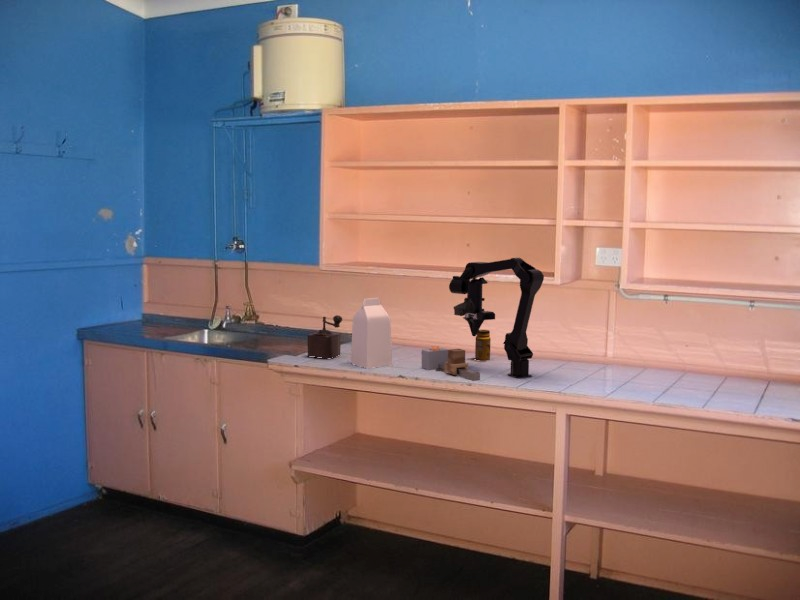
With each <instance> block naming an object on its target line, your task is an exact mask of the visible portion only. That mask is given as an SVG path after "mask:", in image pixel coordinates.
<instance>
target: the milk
mask: <svg viewBox="0 0 800 600" xmlns="http://www.w3.org/2000/svg"><path fill="white" fill-rule="evenodd" d="M351 328H352V329H351V330H352V331H351V349H350V351H351V353H350V364H351V363H352V364H355V365H358V366H357V367H359V366H361V367H360V368H363V367H365V368H364V369H366V368H369V369H373V368H372V367H377V368H379V367H378V366H385V367H387V366H386V365H392V366H393V365H394V363H393V349H392V348H393V347H392V344H393V343H392V327H391V318H390V315H389V314H388V313H387V311H386V309H385V308H384V307H383V305H382V303H381V300H380V298H379V297H369V298H364V299H363V302H362V305H361V306H360V307H359V309H357V311H356V312H355V313H354V315H353V317H352V327H351ZM352 364H351V365H352ZM355 365H354V366H355Z"/></svg>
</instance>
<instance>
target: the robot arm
mask: <svg viewBox="0 0 800 600" xmlns="http://www.w3.org/2000/svg"><path fill="white" fill-rule="evenodd" d="M507 270H512V271H513V273H514V275H515V276H516V278H518V279H519V288H520V292H521V294H520V299H519V302H518V306H517V310H516V315H515V319H514V323H513V327H512V331H511V332H507V333H505V336H504V342H503V343H502V344H503V345H504V346H503V349H504V351H505V353H506V356H507V360H509V361H510V372H509V373H507V376H509V377H513V378H517V379H522V378H530V377H533V375H532V374H530V371H529V370H530V360H529V359H533V356H534V353H533V351H532V350H531V348H530V347H529V346H528V341H529V339H528V335H527V330H528V326H529V322H530V316H531V312H532V309H533V304H534V300H535V297H536V294H537V293H538V292H539V290H540V289H541V287H542V285H543V282H544V278H545V277H544V276H545V275H544V273H543V272H542V271H541V270H540V269H537V268H536V267H534V266H533V265H531V264H529V263H527V262H526V261H525V260H524V259H523V258H521V257H511V258H507V259H503V260H497V261H495V260H494V261H490V262H486V261H475V262H474V261H473V262H468V263H466V265H465V268H464V270H463V271H462V273H461V274H460V275H453V276H452V279H451V280H450V282H449V284H448V288H449V292H450V293H451V294H455V295H466V297H464V298H463V302H461V303H459V304H457V305H455V306H453V310H454V314H453V315H454V316H460V317H462V318H463V320H465V321H466V322H467V323H468V327H469V329H470V332H471V336H472V337H476V336H477V333H478V330H480V329H481V327H482V324H484V321H492V320H493V321H494V320H496V314H495V312H494V311H491V310H490V311H489V310H485V308H483V302H485V299H486V298H485V297H483V285H486V284H488V281H487V279H485V278H484V276H487V275H489V274H490V273H494V272H500V271H507ZM463 316H464V317H463Z"/></svg>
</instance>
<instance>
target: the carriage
mask: <svg viewBox="0 0 800 600" xmlns="http://www.w3.org/2000/svg"><path fill="white" fill-rule="evenodd" d="M460 367H461V368H465V369H468V370H469V363H468V362H466V350H465V349H462V348H453V349H448V362H445V372H444V373H447V374H449V375H454V376H456V375H457V368H460Z"/></svg>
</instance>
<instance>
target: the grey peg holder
mask: <svg viewBox="0 0 800 600" xmlns="http://www.w3.org/2000/svg"><path fill="white" fill-rule="evenodd" d="M448 350H449V349H447V348H444V347H439V350H438V351H432V350H431V348H427V349H421V368H422V369H424V368H425V369H424V370H427V369H428V371H432V370H431V369H433V370H436V369H437V368H438V364H439V363H445V362H448Z"/></svg>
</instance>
